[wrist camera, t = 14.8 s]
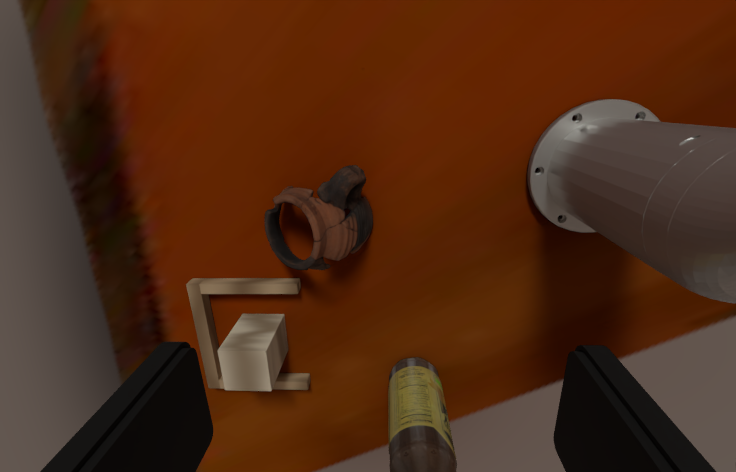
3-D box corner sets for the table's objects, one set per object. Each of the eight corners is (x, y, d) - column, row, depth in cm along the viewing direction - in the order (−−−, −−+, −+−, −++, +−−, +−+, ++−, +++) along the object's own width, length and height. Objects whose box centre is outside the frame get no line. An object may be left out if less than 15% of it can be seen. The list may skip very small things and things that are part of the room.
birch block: (284, 314, 44) (266, 351, 38) (288, 349, 46) (271, 391, 40) (242, 313, 45) (217, 350, 38) (248, 349, 46) (224, 390, 40)
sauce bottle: (431, 400, 47) (458, 595, 29) (383, 389, 47) (378, 579, 29) (446, 359, 45) (485, 542, 27) (395, 347, 45) (399, 524, 26)
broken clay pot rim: (357, 268, 42) (307, 298, 36) (301, 215, 45) (245, 234, 39) (409, 185, 36) (360, 202, 29) (341, 128, 38) (281, 133, 32)
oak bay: (300, 278, 43) (296, 284, 41) (310, 381, 48) (308, 389, 46) (192, 278, 43) (186, 284, 42) (214, 379, 48) (208, 388, 47)
